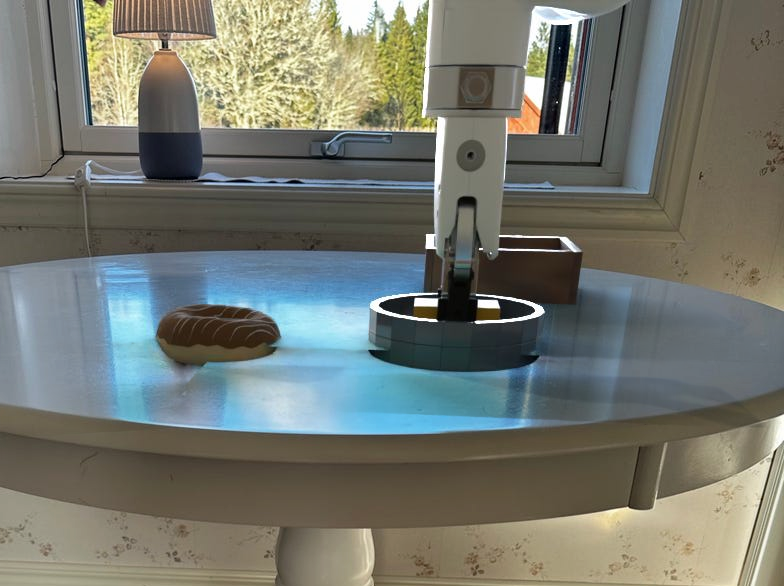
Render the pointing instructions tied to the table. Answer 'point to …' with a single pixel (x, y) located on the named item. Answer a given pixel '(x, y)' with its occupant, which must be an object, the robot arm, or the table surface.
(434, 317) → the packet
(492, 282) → the box
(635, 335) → the table surface
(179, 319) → the donut
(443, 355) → the bowl
